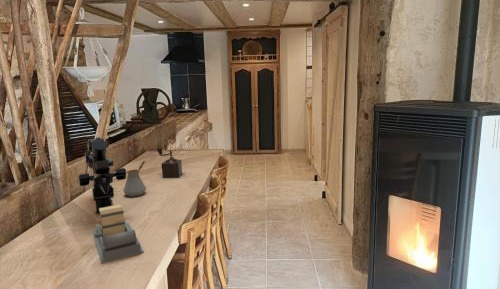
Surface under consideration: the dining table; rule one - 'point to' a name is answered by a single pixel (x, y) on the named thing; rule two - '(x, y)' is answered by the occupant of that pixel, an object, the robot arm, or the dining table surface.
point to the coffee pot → (134, 183)
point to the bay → (117, 244)
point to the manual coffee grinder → (170, 166)
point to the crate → (112, 220)
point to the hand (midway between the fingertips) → (106, 193)
